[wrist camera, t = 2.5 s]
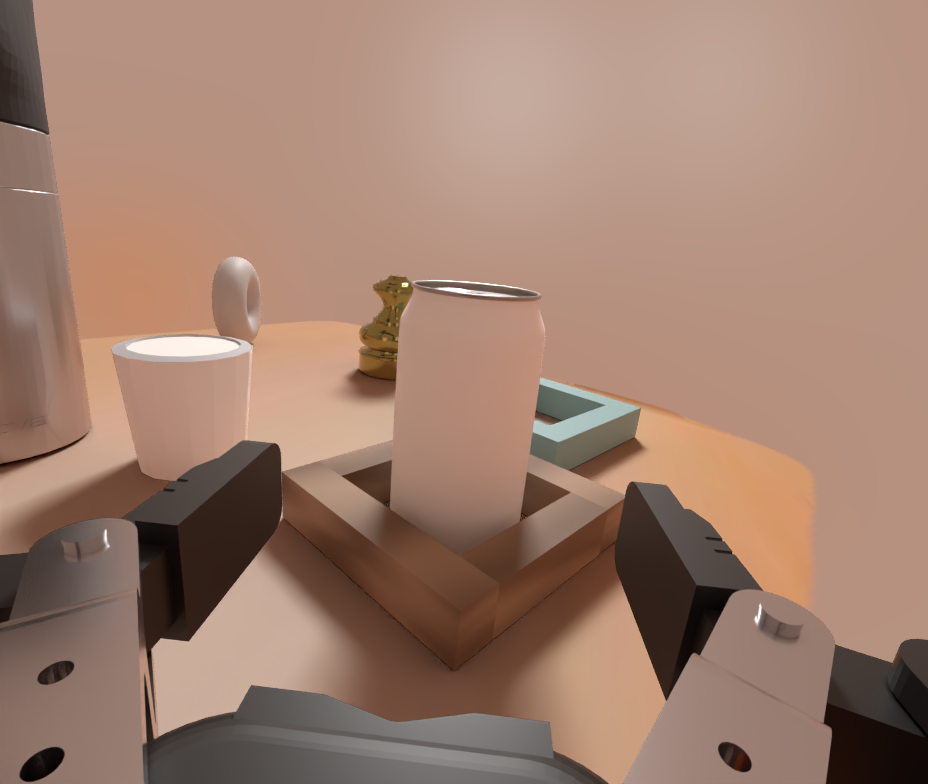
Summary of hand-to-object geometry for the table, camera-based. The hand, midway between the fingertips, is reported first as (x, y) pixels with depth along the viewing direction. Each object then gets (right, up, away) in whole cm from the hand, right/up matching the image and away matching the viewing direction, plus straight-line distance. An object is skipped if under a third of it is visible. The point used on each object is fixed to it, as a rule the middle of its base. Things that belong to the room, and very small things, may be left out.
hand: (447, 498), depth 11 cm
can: (0, -5, +13) cm, 14 cm away
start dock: (0, -4, +13) cm, 14 cm away
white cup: (-16, -2, +18) cm, 24 cm away
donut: (-26, +8, +45) cm, 52 cm away
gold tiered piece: (-7, +4, +41) cm, 42 cm away
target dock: (+6, -1, +28) cm, 28 cm away
